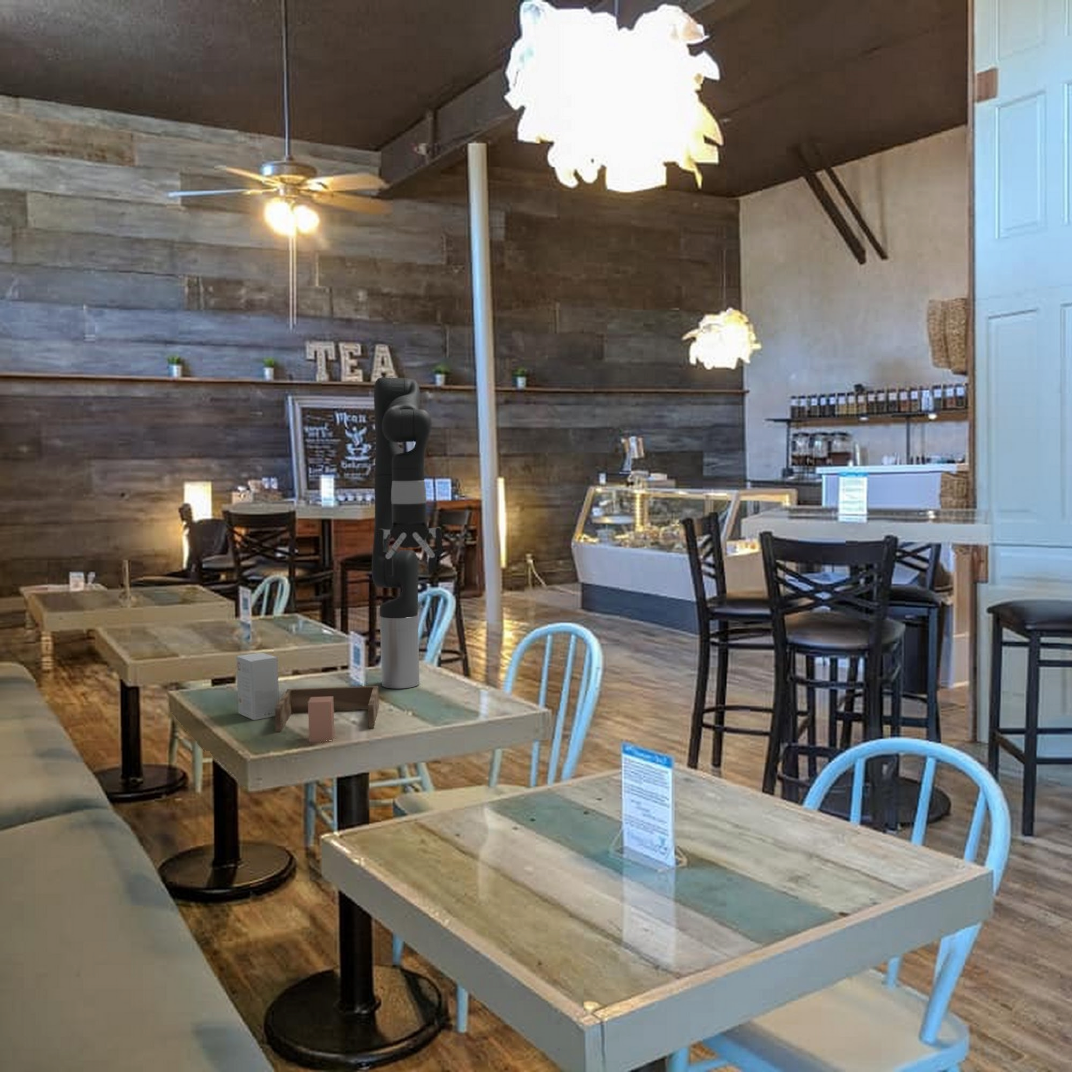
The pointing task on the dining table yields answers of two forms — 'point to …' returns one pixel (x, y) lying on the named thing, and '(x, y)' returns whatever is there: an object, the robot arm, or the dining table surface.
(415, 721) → the dining table surface
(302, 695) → the u-shaped bracket
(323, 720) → the terracotta block
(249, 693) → the small box
